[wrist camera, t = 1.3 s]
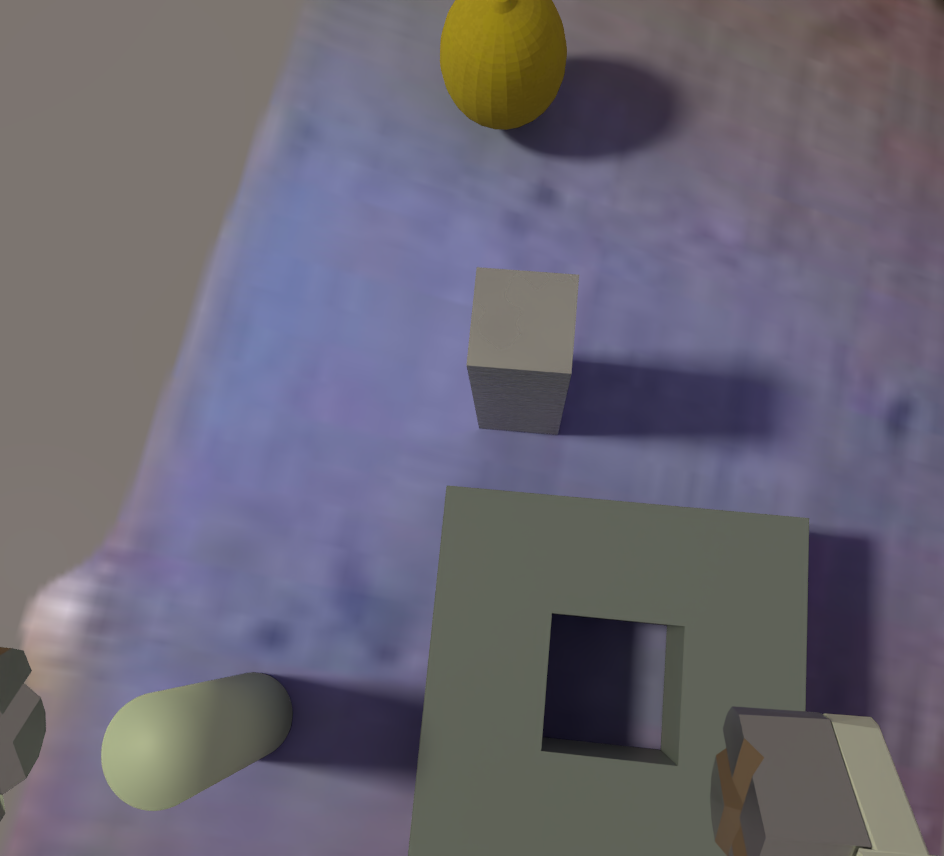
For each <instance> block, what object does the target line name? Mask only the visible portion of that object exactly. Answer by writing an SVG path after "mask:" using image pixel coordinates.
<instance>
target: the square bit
mask: <svg viewBox="0 0 944 856" xmlns="http://www.w3.org/2000/svg"><path fill="white" fill-rule="evenodd" d="M578 282H579V275H574V274H560V273H547V272H533V271H519V270H506V269H492V268H478V267H477V270H476V279H475V289H474V299H473V309H472V318H471V328H470V338H469V347H468V357H467V370H468V375H469V380H470V385H471V390H472V395H473V400H474V405H475V410H476V415H477V420H478V425H479V428H483V429H495V430H506V431H518V432H530V433H541V434H553V435H558V431H559V427H560V422H561V418H562V413H563V409H564V404H565V400H566V396H567V391H568V387H569V382H570V378H571V373H572V360H573V347H574V334H575V321H576V308H577V295H578Z"/></svg>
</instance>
